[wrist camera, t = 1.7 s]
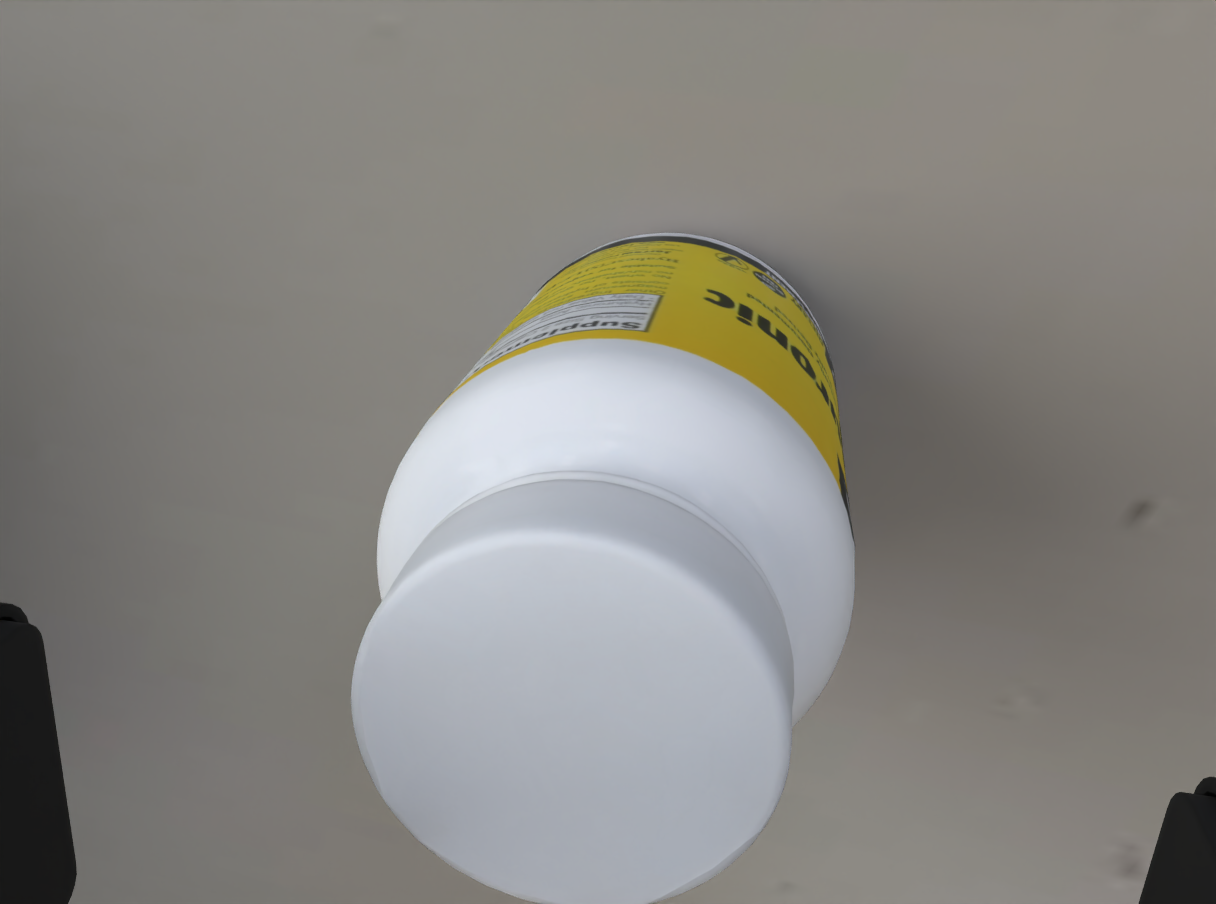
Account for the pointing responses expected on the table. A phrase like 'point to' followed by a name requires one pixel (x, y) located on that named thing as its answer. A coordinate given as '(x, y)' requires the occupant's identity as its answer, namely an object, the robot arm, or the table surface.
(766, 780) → the supplement bottle
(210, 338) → the table surface
